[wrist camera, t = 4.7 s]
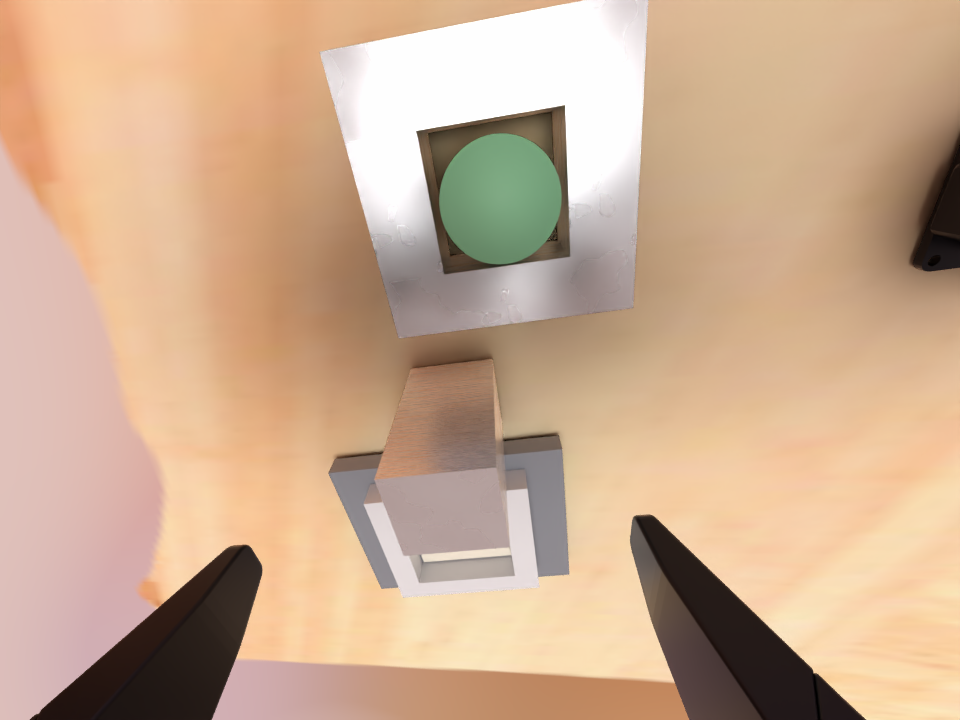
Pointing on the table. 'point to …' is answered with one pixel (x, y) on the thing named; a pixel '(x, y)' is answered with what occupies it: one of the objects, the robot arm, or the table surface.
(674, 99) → the table surface
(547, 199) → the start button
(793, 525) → the table surface
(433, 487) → the block
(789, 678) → the robot arm
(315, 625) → the table surface
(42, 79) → the table surface
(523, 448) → the grey slotted socket base
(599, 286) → the square peg board
